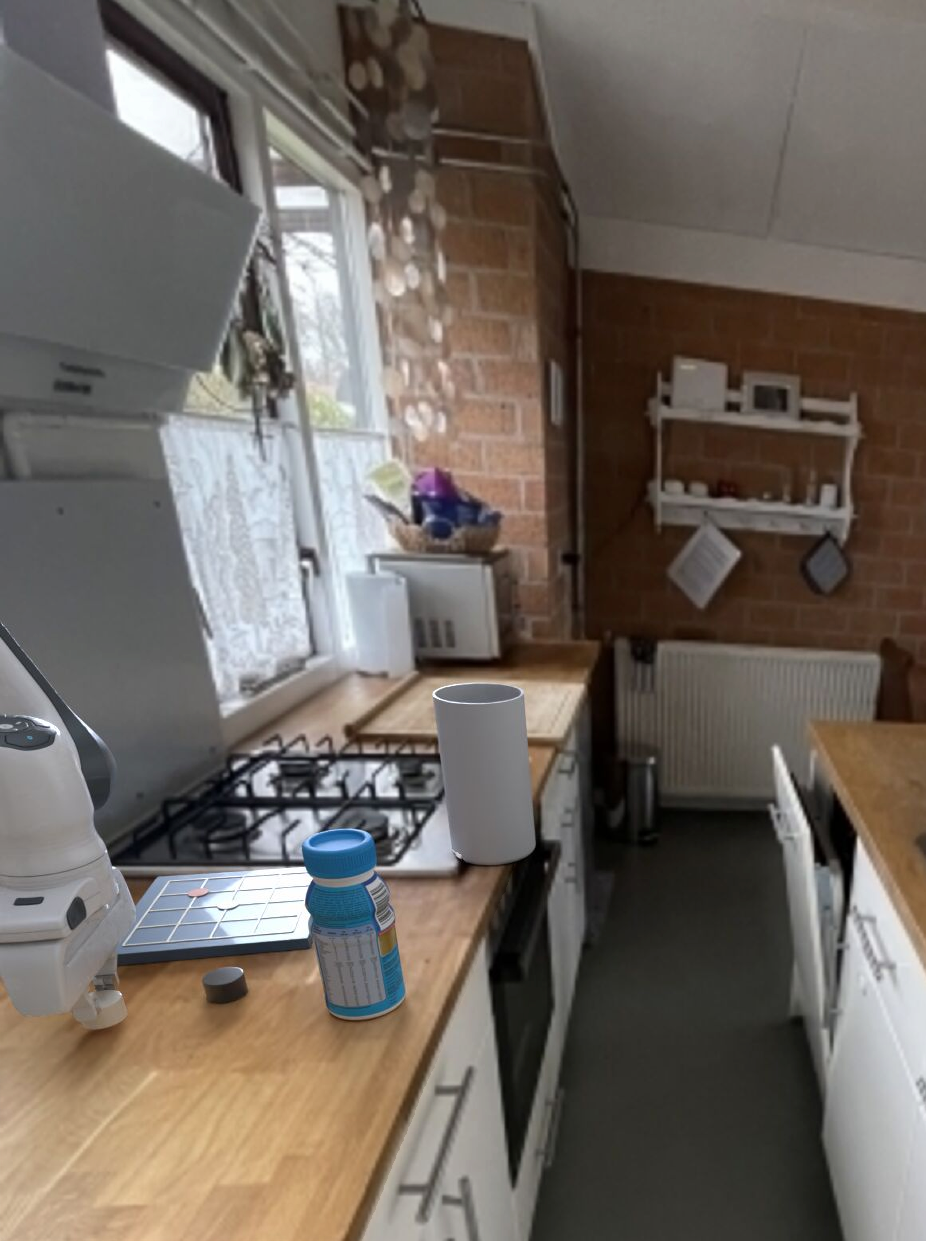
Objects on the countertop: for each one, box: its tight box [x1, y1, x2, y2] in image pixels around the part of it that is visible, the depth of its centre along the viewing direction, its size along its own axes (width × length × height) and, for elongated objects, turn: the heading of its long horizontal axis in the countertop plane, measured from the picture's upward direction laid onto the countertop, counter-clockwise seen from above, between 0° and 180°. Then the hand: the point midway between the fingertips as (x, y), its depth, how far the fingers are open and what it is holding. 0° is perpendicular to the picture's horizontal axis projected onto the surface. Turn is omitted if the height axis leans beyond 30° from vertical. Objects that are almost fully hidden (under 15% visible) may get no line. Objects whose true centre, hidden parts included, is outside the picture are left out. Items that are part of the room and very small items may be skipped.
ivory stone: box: [79, 989, 128, 1030], centre depth 92 cm, size 4×4×2 cm
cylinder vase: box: [432, 682, 537, 866], centre depth 133 cm, size 12×12×25 cm
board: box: [116, 866, 313, 966], centre depth 115 cm, size 22×22×2 cm
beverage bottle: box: [301, 828, 407, 1021], centre depth 95 cm, size 8×8×20 cm
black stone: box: [201, 966, 249, 1004], centre depth 99 cm, size 4×4×2 cm
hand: (99, 1003), depth 92 cm, fingers closed on ivory stone, 4 cm apart
